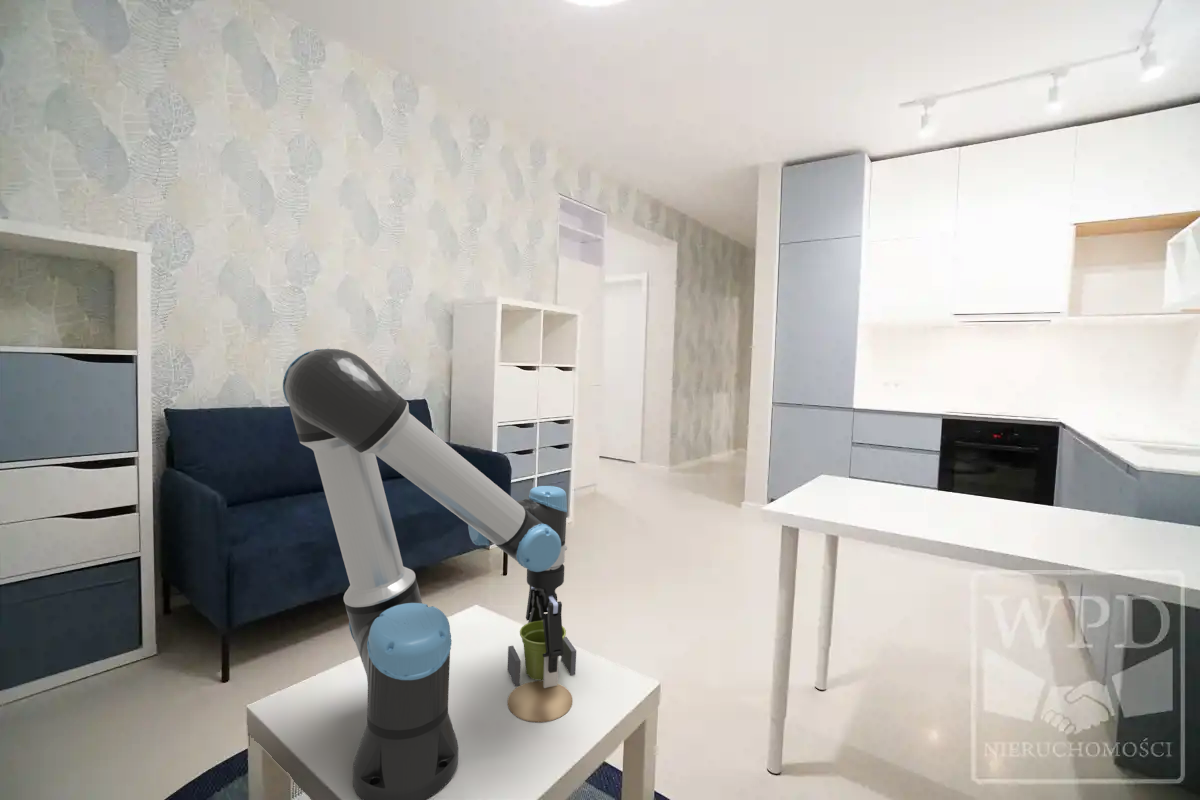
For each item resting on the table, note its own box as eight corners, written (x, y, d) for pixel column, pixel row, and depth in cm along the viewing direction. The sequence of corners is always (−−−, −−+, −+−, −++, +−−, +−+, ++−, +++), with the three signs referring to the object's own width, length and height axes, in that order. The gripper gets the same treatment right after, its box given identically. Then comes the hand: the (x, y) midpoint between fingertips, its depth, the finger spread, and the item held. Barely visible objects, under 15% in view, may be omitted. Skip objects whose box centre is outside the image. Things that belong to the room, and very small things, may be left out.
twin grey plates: (514, 686, 104) (515, 661, 103) (507, 670, 109) (508, 646, 109) (575, 674, 109) (576, 650, 108) (565, 659, 114) (566, 636, 114)
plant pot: (567, 662, 113) (569, 622, 113) (559, 688, 104) (561, 645, 103) (524, 657, 114) (526, 618, 114) (512, 683, 105) (514, 640, 104)
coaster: (516, 728, 92) (517, 727, 92) (501, 689, 103) (501, 687, 103) (581, 713, 96) (581, 712, 96) (560, 677, 107) (560, 676, 107)
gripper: (583, 582, 99) (579, 699, 100) (546, 545, 119) (543, 642, 120) (545, 587, 96) (540, 707, 97) (513, 548, 116) (510, 647, 117)
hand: (542, 671), depth 108 cm, fingers open, 10 cm apart
